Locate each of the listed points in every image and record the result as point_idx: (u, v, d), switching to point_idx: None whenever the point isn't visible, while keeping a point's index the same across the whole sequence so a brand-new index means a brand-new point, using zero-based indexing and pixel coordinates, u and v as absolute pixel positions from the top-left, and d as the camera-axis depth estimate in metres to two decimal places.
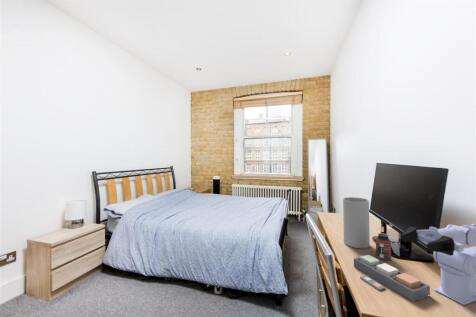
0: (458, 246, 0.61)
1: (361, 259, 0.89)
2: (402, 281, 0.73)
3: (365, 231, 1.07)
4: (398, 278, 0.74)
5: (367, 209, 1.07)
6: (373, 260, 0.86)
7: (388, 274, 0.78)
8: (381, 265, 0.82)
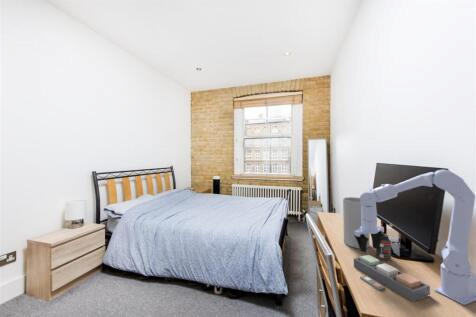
0: None
1: (361, 259, 0.89)
2: (402, 281, 0.73)
3: None
4: (398, 278, 0.74)
5: None
6: (373, 260, 0.86)
7: (388, 274, 0.78)
8: (381, 265, 0.82)
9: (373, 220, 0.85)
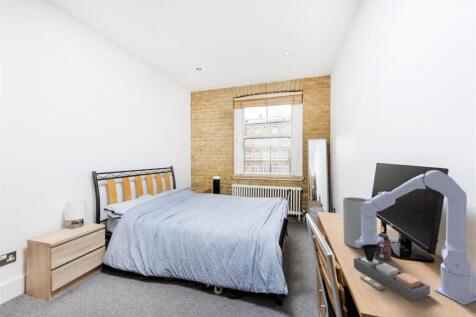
0: None
1: (361, 261, 0.89)
2: (402, 281, 0.73)
3: None
4: (398, 278, 0.74)
5: None
6: (373, 262, 0.86)
7: (388, 274, 0.78)
8: (381, 265, 0.82)
9: (373, 231, 0.85)
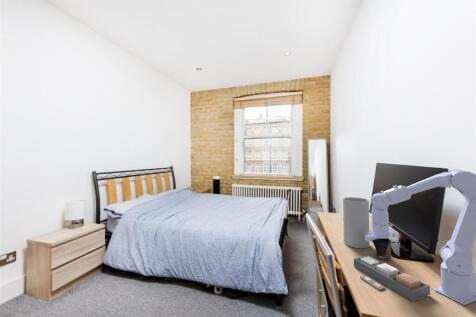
0: None
1: (361, 261, 0.89)
2: (402, 281, 0.73)
3: (365, 231, 1.07)
4: (398, 278, 0.74)
5: (367, 209, 1.07)
6: (373, 262, 0.86)
7: (388, 274, 0.78)
8: (381, 265, 0.82)
9: (386, 224, 0.80)
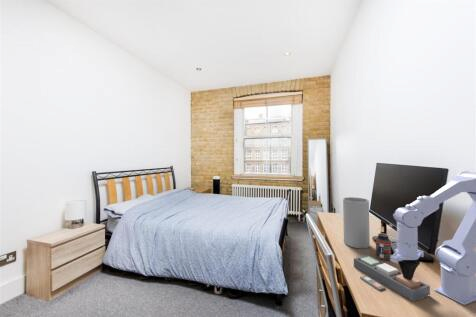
0: None
1: (361, 261, 0.89)
2: (402, 282, 0.73)
3: (365, 231, 1.07)
4: (398, 278, 0.74)
5: (367, 209, 1.07)
6: (373, 262, 0.86)
7: (388, 274, 0.78)
8: (381, 265, 0.82)
9: (417, 243, 0.71)
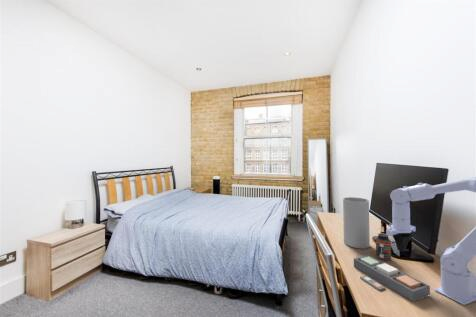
0: None
1: (361, 261, 0.89)
2: None
3: (365, 231, 1.07)
4: (398, 280, 0.74)
5: (367, 209, 1.07)
6: (373, 262, 0.86)
7: (388, 274, 0.78)
8: (381, 265, 0.82)
9: (405, 219, 0.80)
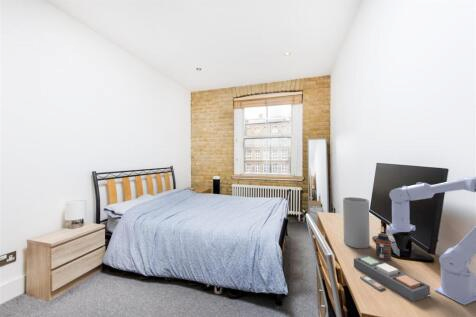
0: None
1: (361, 261, 0.89)
2: None
3: (365, 231, 1.07)
4: (398, 280, 0.74)
5: (367, 209, 1.07)
6: (373, 262, 0.86)
7: (388, 274, 0.78)
8: (381, 265, 0.82)
9: (404, 218, 0.81)
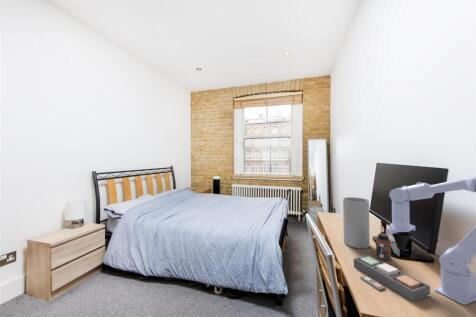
0: None
1: (361, 261, 0.89)
2: None
3: (365, 231, 1.07)
4: (398, 280, 0.74)
5: (367, 209, 1.07)
6: (373, 262, 0.86)
7: (388, 274, 0.78)
8: (381, 265, 0.82)
9: (404, 218, 0.81)
